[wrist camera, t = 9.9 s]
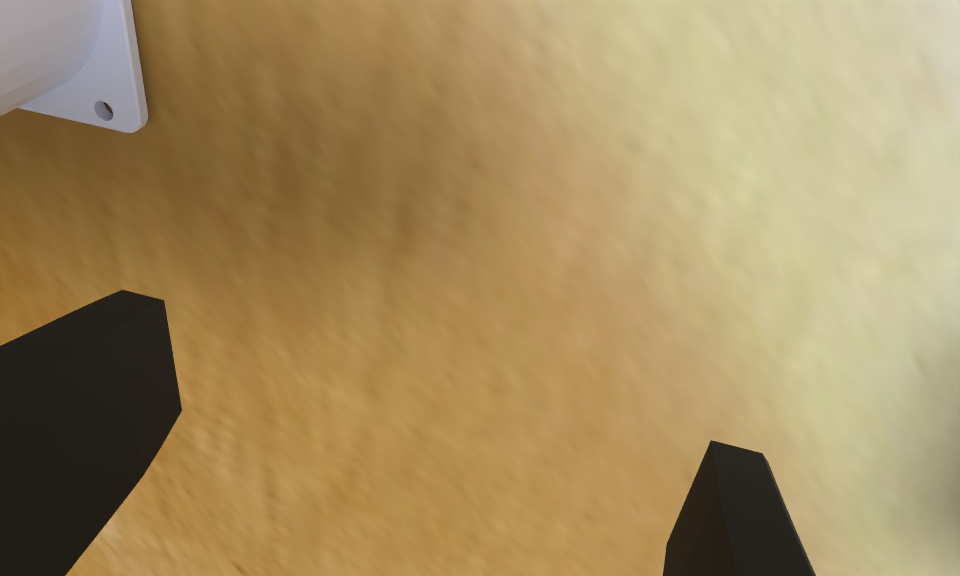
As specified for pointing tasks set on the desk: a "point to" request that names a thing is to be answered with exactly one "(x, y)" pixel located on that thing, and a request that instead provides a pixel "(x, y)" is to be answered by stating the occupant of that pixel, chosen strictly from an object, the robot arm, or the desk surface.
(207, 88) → the desk surface
